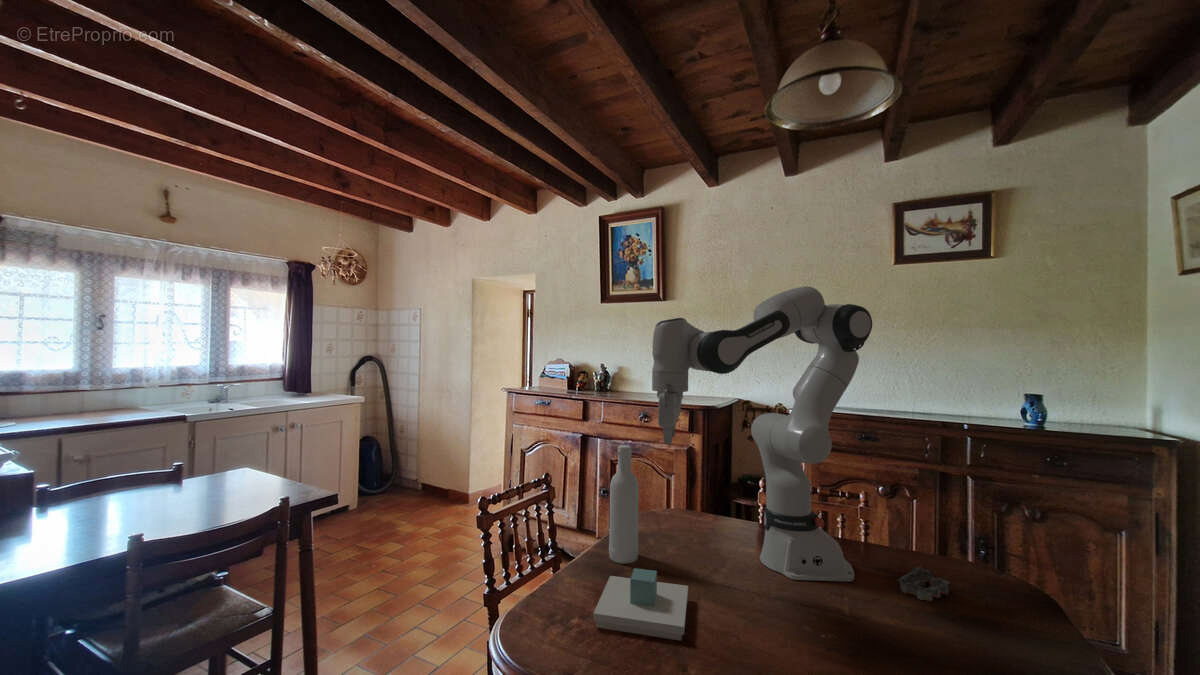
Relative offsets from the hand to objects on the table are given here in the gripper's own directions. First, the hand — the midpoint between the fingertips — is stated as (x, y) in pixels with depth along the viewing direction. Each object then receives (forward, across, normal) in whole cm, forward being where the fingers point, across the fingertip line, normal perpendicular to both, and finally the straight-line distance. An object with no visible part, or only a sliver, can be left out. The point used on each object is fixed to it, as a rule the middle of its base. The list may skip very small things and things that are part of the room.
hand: (669, 440), depth 113 cm
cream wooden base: (+34, -15, +4) cm, 37 cm away
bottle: (+34, +10, +13) cm, 38 cm away
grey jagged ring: (+34, +11, -59) cm, 69 cm away
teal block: (+31, -15, +4) cm, 35 cm away
